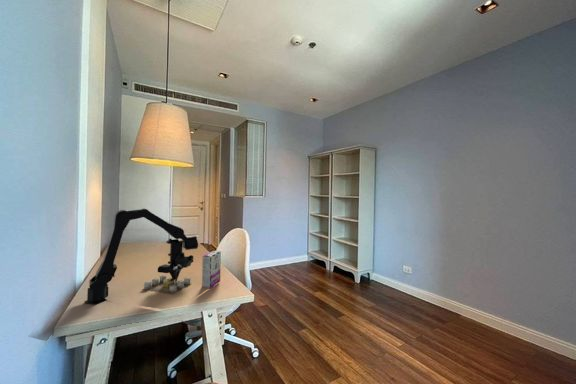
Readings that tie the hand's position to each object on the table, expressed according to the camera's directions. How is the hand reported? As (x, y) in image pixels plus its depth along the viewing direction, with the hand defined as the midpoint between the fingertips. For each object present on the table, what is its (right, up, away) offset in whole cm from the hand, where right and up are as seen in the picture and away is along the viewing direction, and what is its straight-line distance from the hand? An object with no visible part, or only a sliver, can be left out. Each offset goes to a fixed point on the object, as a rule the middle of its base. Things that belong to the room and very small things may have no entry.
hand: (175, 281), depth 122 cm
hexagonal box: (-1, -1, -4) cm, 4 cm away
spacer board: (-2, -2, -8) cm, 9 cm away
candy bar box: (+18, -2, +1) cm, 19 cm away
